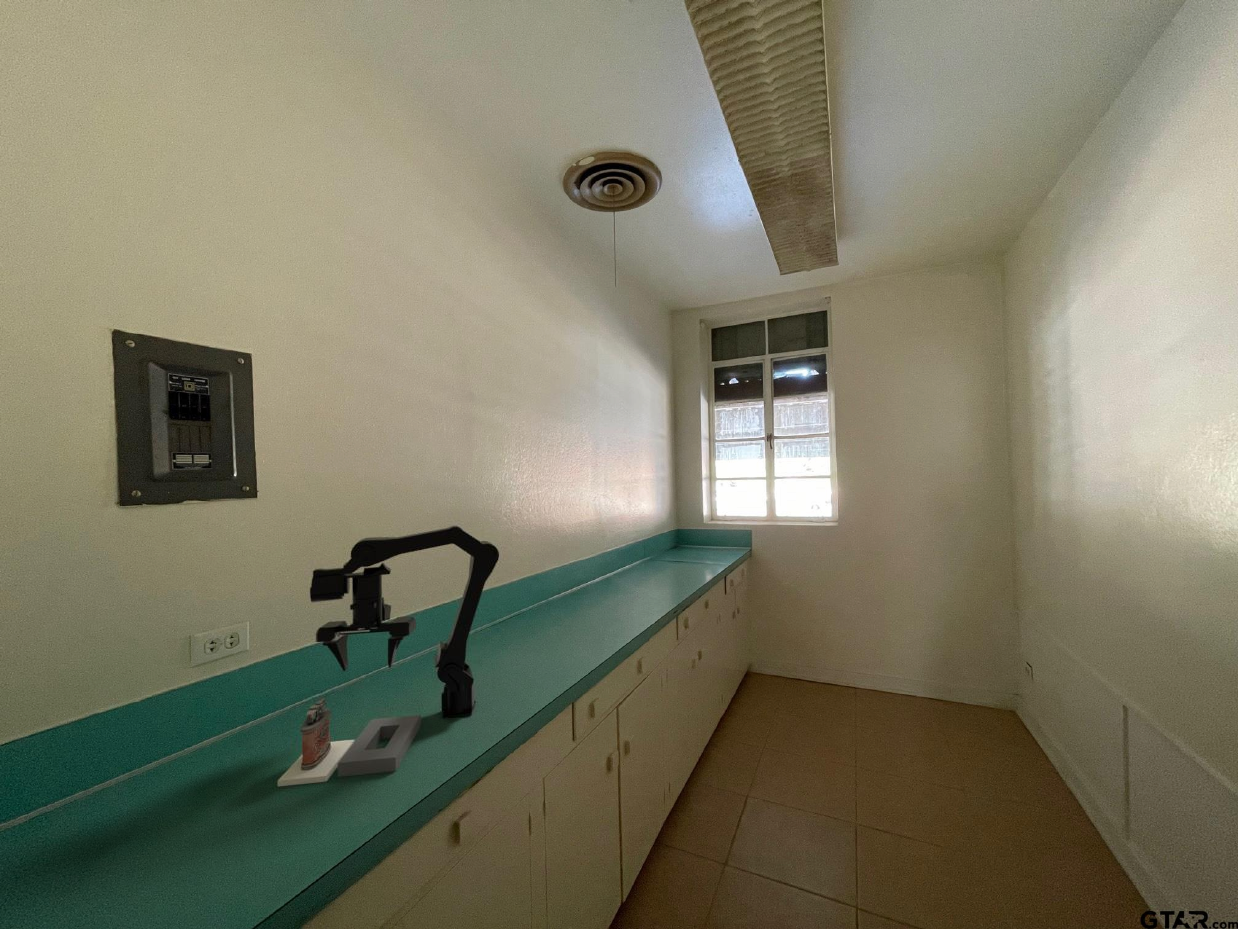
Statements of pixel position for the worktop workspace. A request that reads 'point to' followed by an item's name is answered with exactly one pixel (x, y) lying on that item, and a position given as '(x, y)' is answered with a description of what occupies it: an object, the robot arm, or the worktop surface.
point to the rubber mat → (321, 771)
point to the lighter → (315, 736)
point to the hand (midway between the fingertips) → (368, 668)
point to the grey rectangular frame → (386, 759)
